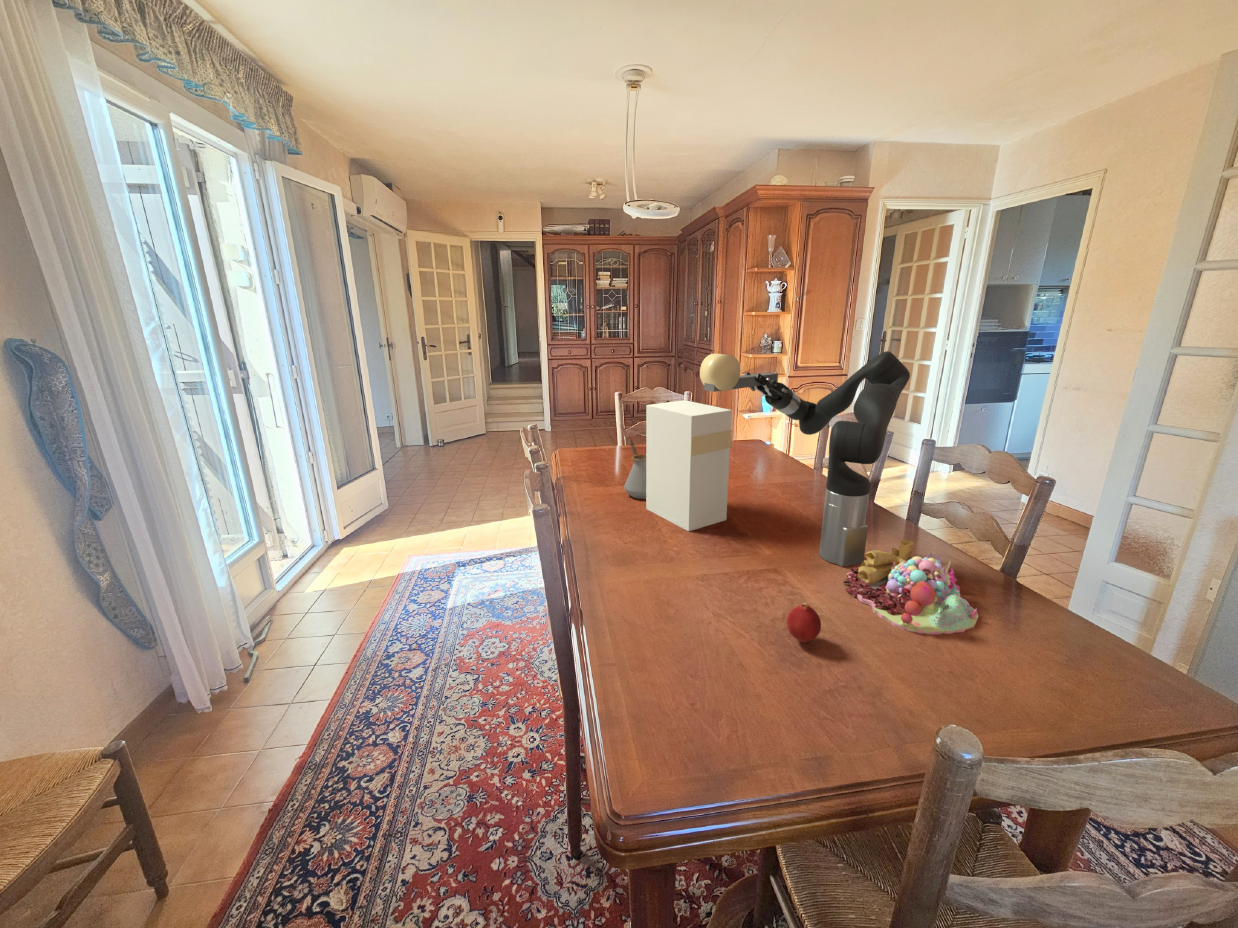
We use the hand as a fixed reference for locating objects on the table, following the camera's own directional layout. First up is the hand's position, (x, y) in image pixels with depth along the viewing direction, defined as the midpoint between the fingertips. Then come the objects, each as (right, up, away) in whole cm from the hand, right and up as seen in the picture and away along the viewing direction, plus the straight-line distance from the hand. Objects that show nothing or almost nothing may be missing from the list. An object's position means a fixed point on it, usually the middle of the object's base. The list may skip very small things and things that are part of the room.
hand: (751, 375), depth 151 cm
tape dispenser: (-3, -3, -1) cm, 5 cm away
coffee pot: (-33, -35, +20) cm, 52 cm away
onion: (-6, -59, -59) cm, 84 cm away
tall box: (-20, -41, -1) cm, 46 cm away
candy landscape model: (+21, -55, -46) cm, 74 cm away
